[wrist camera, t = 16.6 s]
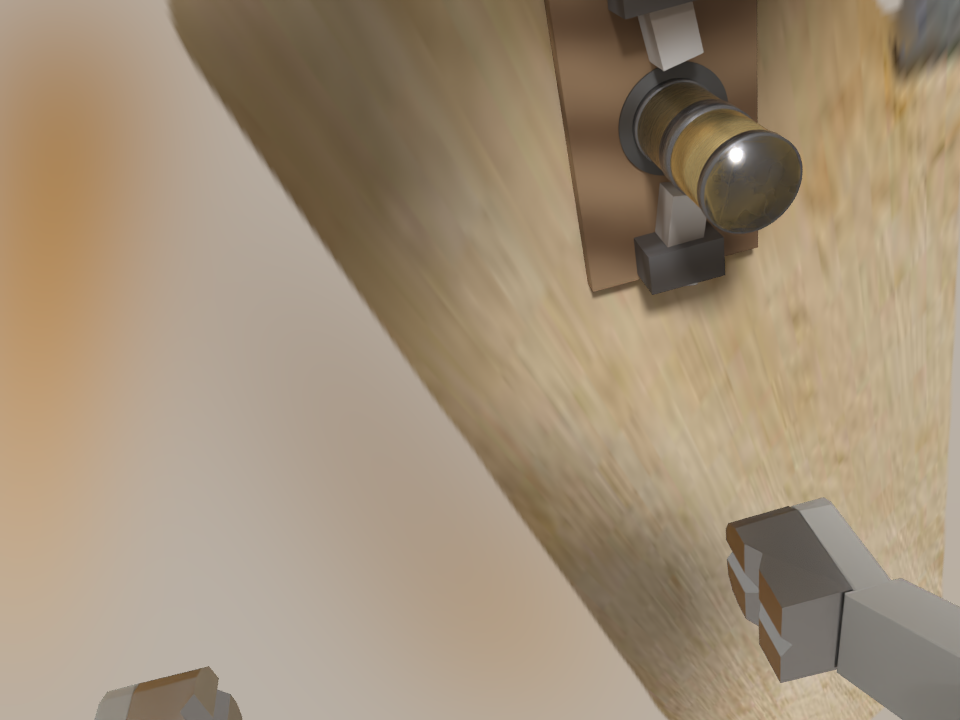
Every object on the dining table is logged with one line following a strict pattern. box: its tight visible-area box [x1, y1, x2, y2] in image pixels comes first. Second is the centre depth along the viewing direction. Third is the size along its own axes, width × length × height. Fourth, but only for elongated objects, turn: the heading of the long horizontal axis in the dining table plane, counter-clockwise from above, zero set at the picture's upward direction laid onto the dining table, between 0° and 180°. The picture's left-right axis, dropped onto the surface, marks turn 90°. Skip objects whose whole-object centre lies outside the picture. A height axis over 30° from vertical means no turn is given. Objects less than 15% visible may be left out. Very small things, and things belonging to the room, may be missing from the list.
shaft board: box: [544, 0, 758, 295], centre depth 43 cm, size 20×11×4 cm, turn 13°
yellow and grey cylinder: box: [632, 78, 802, 234], centre depth 39 cm, size 5×5×10 cm
